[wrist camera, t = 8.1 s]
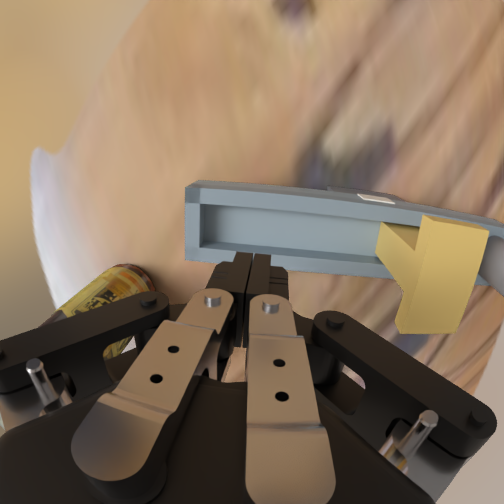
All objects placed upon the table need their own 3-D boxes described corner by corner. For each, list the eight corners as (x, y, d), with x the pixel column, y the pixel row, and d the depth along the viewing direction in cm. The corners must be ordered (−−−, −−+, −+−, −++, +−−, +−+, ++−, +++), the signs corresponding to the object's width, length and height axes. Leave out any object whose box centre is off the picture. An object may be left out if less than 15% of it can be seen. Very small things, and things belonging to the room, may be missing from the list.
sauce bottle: (168, 307, 30) (76, 474, 11) (122, 318, 31) (24, 456, 13) (142, 249, 28) (0, 394, 9) (95, 265, 29) (-36, 387, 11)
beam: (205, 232, 27) (166, 288, 17) (207, 174, 25) (163, 198, 15) (465, 259, 25) (525, 310, 16) (477, 210, 23) (546, 246, 14)
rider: (369, 277, 22) (400, 333, 15) (385, 193, 19) (432, 220, 13) (414, 281, 21) (455, 333, 15) (433, 201, 19) (489, 230, 12)
